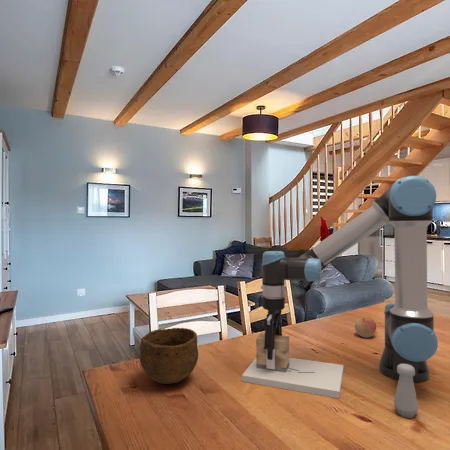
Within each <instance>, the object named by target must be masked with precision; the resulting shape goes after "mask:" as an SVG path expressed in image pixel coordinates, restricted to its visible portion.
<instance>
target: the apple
mask: <svg viewBox="0 0 450 450" xmlns="http://www.w3.org/2000/svg"><path fill="white" fill-rule="evenodd" d="M354 323H355V324H354V330H355V332H356V333H357V335H359V336H361V337H362V338H365V339H366V338H371V337H373V336H374V335H375V333H376V331H377V324H376V322H375V320H374V319H373V318H372V317H371V318H370V317H360V318H358V319H356V321H355V322H354Z"/></svg>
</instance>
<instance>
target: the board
mask: <svg viewBox="0 0 450 450" xmlns="http://www.w3.org/2000/svg"><path fill="white" fill-rule="evenodd" d="M344 370H345V369H344V364H339V363H331V362H322V361H316V360H309V359H304V358H303V359H302V358H295V357H289V367H288V369H287V371H286V373H285V372H279V371H272V370H266V369H259V368H256V357H255V358H254V359H253V361H252V362H251V363H250V364H249V366H248V367H247V368H246V370H245V371H244V372H243V373H242V375H241V382H244V383H249V384H255V385H261V386H265V387H272V388H277V389H282V390H283V389H284V390H289V391H294V392H300V393H306V394H311V395H312V394H313V395H317V396H324V397H329V398H330V397H331V398H334V399H340V397H341V392H342V391H341V390H342V385H343V383H342V382H343V377H344V376H343V375H344V372H345V371H344Z"/></svg>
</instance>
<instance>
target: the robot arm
mask: <svg viewBox="0 0 450 450" xmlns="http://www.w3.org/2000/svg"><path fill="white" fill-rule="evenodd" d="M436 200H437V190H436V188H435V186H434V185H433V183H431V181H430V180H428V179H427V178H425V177H422V176H419V175H409V176H403V177H400V178H398V179H397V180H396V181H395V182H394V183H392V184H391V185H390V186H389V187H388V188H387V189H386V190H385V191H384V192H383V193H382V194H381V195H380V196H379V197H377V198H376V199H375V200H373V201H372V204H371V206H370V207H369V208H367V209H365V210H364V211H363V212H361V213H359V215H357V216H356V217H354V218H353V219H351V220H350V221H348V222H347V223H346V224H345V225H343V226H341V227H340V228H339V229H337V230H336V231H335V232H333V233H332V234H330V235H329V236H327V237H326V238H324V239H322V241H320V242H319V243H317V244H315V245H314V246H313V247H311V248H310V249H309V250H307V251H305V253H303V254H301V255H299V256H298V257H287V256H285V252H284V251H281V250H279V251H278V250H268V251H267V250H266V251H264V252H263V253H262V259H261V260H262V262H261V273H262V276H261V277H262V279H261V280H262V284H261V285H262V286H261V287H260V289H261V290H262V296H263V297H262V298H261V299H262V308H263V309H264V310H267V314H266V316H265V318H264V328H265V329H264V334H265V345H264V349H266V368H268V369H275V349H274V341H275V335H280V336H283V331H282V329H283V327H282V326H283V325H282V323H283V322H282V313H283V311H282V310H284V309H285V307H286V305H285V303H286V302H285V299H286V298H285V296H286V295H285V294H286V291H285V290H286V289H285V288H286V286H285V285H286V284H285V281H302V282H309V283H311V282H319V281H320V282H321V279H322V268H323V267H324V266H326V265H327V264H329V263H330V262H332V261H333V260H335V259H336V258H338V257H339V256H340V255H341V254H344V253H345V252H346V251H348V250H350V249H351V248H353V247H354V246H355V245H358V243H360V242H362V241H363V240H364V239H366V238H368V237H369V236H370V235H372V234H373V233H374V232H376V231H377V230H379V229H380V228H382V227H383V226H385V225H391V226H392V227H394V228H393V229H394V231H393V232H394V293H395V294H394V297H395V300H394V301H395V302H394V303H387V304H385V306H384V311H383V314H384V349H383V351H382V353H381V356H380V359H379V362H378V367H379V368H378V369H379V371H380V372H381V373H382V374H383V375H385V376H387V377H389V378H391V379H395V380H398V381H399V376H400V374H398V372H397V366H398V365H399V364H409V365H411V366H413V367H414V369H415V375H414V376H413V382H414V383H421V382H422V383H423V382H425V381H428V380H429V379H430V368H429V365H428V362H427V360H429V359H431V358H433V356H435V354H436V353H437V351H438V348H439V347H438V346H439V342H438V338H437V335H436V333H435V332H434V330H435V327H434V324H435V323H434V313H433V312H432V311H431V309H429V307H428V241H427V239H428V236H427V234H428V232H427V228H428V226H429V225H430V224H432V222H433V208H434V206H435V204H436Z"/></svg>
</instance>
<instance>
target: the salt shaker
mask: <svg viewBox="0 0 450 450" xmlns="http://www.w3.org/2000/svg"><path fill="white" fill-rule="evenodd" d="M397 372H398V374H400V376H399V380H398V382H397V385H396V390H395V395H394V399H393V404H394V405H393V406H394V408H395V410H396V412H397V414H398V415H399V416H401V417H402V418H403V417H404V418H407V419H411V418H413V417H415V416H416V414H417V413H418V410H419V404H418V399H417V392H416V389H415V382H413V376H414V375H415V369H414V367H413V366H411V365H409V364H399V365H398V366H397Z"/></svg>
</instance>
